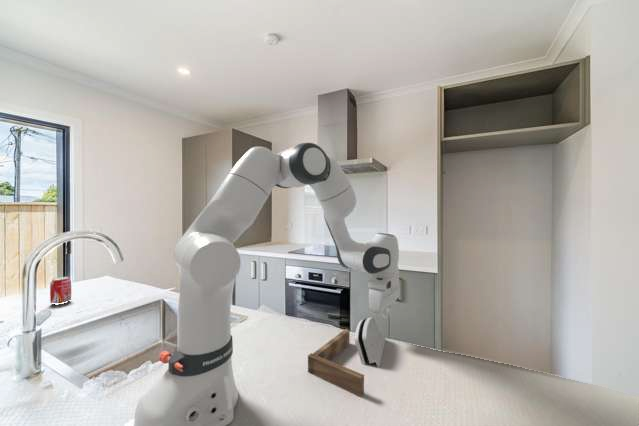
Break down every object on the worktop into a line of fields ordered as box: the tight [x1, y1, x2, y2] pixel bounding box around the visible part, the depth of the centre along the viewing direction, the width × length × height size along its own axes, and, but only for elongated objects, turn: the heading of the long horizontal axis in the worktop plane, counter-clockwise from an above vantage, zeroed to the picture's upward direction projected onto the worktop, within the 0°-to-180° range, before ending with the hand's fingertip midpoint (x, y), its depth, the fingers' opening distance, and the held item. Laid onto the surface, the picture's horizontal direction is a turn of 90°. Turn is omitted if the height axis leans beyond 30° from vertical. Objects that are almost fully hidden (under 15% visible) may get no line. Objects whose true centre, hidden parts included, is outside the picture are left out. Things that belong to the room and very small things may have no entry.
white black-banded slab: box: [354, 317, 387, 368], centre depth 80 cm, size 17×5×10 cm, turn 159°
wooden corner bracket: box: [307, 328, 365, 398], centre depth 73 cm, size 20×16×4 cm
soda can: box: [49, 276, 72, 304], centre depth 121 cm, size 7×7×12 cm
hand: (385, 316), depth 91 cm, fingers closed
